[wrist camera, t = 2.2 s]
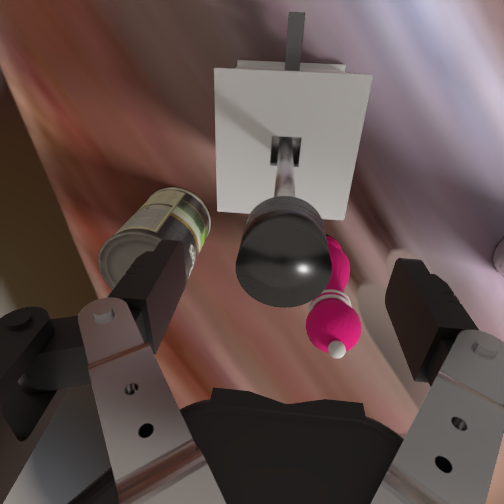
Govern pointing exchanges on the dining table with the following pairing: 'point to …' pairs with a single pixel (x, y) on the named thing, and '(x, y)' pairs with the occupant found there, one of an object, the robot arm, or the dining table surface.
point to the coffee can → (157, 232)
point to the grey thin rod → (284, 240)
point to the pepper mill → (334, 310)
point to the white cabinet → (288, 128)
